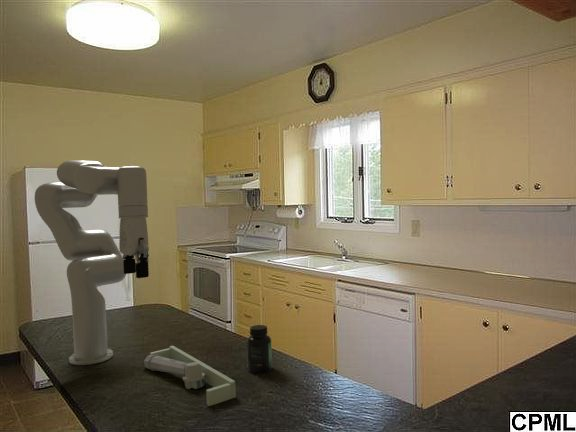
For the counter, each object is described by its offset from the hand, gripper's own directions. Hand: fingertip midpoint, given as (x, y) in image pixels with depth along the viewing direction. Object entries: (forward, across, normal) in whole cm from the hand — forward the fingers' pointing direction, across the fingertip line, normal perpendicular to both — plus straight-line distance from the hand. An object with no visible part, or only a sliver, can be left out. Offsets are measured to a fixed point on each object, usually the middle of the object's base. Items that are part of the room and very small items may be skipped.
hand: (136, 275), depth 124 cm
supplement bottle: (+28, +17, +28) cm, 43 cm away
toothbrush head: (+29, +6, +7) cm, 30 cm away
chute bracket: (+28, +10, +10) cm, 31 cm away
